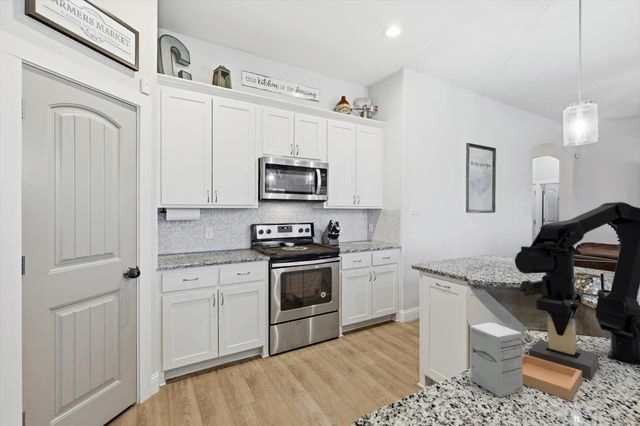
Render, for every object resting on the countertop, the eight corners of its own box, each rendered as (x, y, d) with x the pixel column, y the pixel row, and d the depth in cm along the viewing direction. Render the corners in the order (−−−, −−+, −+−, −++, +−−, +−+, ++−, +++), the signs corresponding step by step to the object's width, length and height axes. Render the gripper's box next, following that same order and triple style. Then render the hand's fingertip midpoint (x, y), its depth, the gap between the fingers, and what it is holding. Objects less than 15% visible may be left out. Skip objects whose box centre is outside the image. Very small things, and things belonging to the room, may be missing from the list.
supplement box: (470, 381, 67) (468, 325, 68) (493, 374, 70) (492, 321, 70) (499, 399, 60) (497, 336, 61) (524, 391, 63) (522, 331, 63)
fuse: (551, 345, 78) (550, 314, 78) (576, 351, 74) (575, 319, 74) (548, 348, 76) (547, 317, 76) (573, 354, 72) (572, 321, 73)
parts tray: (522, 362, 76) (522, 353, 76) (582, 381, 67) (582, 370, 67) (506, 378, 68) (505, 368, 68) (570, 401, 59) (570, 389, 59)
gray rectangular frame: (540, 350, 83) (540, 339, 83) (598, 366, 74) (598, 353, 74) (529, 361, 76) (528, 349, 77) (591, 379, 67) (590, 366, 67)
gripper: (533, 265, 88) (535, 318, 87) (511, 272, 76) (512, 333, 76) (582, 269, 79) (584, 328, 79) (566, 278, 68) (568, 347, 67)
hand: (561, 333), depth 75 cm, fingers closed on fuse, 3 cm apart
